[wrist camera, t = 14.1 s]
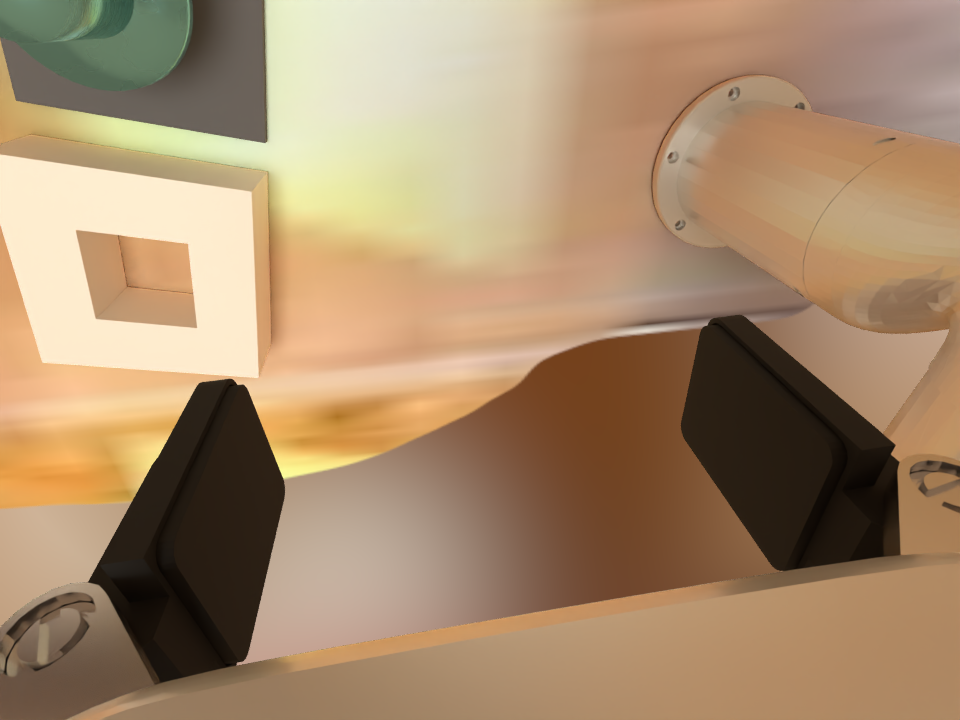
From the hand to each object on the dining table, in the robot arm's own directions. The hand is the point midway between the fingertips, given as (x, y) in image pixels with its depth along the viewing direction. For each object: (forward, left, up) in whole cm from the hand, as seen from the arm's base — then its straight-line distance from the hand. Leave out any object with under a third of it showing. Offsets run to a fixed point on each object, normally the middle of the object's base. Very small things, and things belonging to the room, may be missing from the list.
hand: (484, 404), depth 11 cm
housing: (+17, +11, -30) cm, 36 cm away
